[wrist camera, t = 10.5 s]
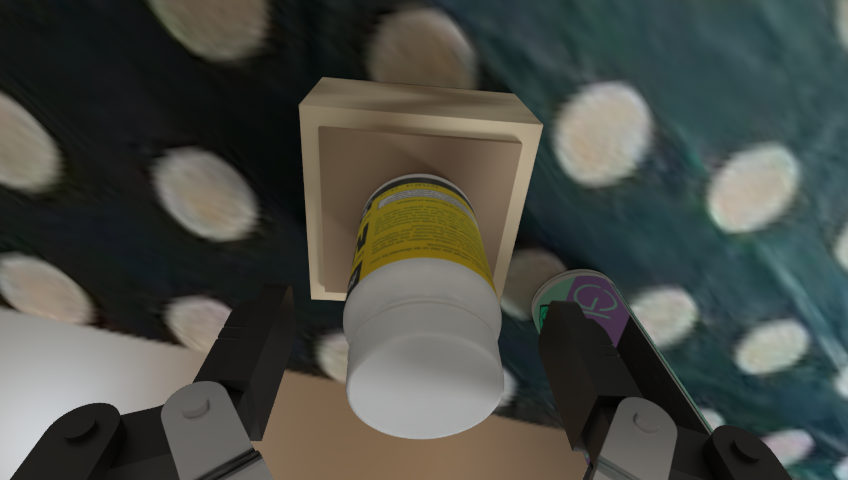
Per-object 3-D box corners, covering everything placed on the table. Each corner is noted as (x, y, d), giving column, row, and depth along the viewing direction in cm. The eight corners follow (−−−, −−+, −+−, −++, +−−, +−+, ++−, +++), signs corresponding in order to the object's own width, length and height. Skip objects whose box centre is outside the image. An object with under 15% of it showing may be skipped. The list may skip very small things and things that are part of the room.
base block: (514, 93, 20) (545, 127, 16) (483, 251, 25) (500, 311, 20) (322, 76, 19) (297, 107, 15) (328, 242, 24) (310, 303, 20)
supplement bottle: (350, 178, 16) (306, 333, 9) (471, 163, 16) (522, 308, 9) (372, 276, 19) (351, 457, 12) (477, 264, 19) (521, 440, 12)
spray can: (567, 255, 25) (901, 831, 8) (634, 288, 27) (1031, 829, 10) (513, 316, 28) (685, 857, 11) (578, 343, 29) (817, 853, 12)
